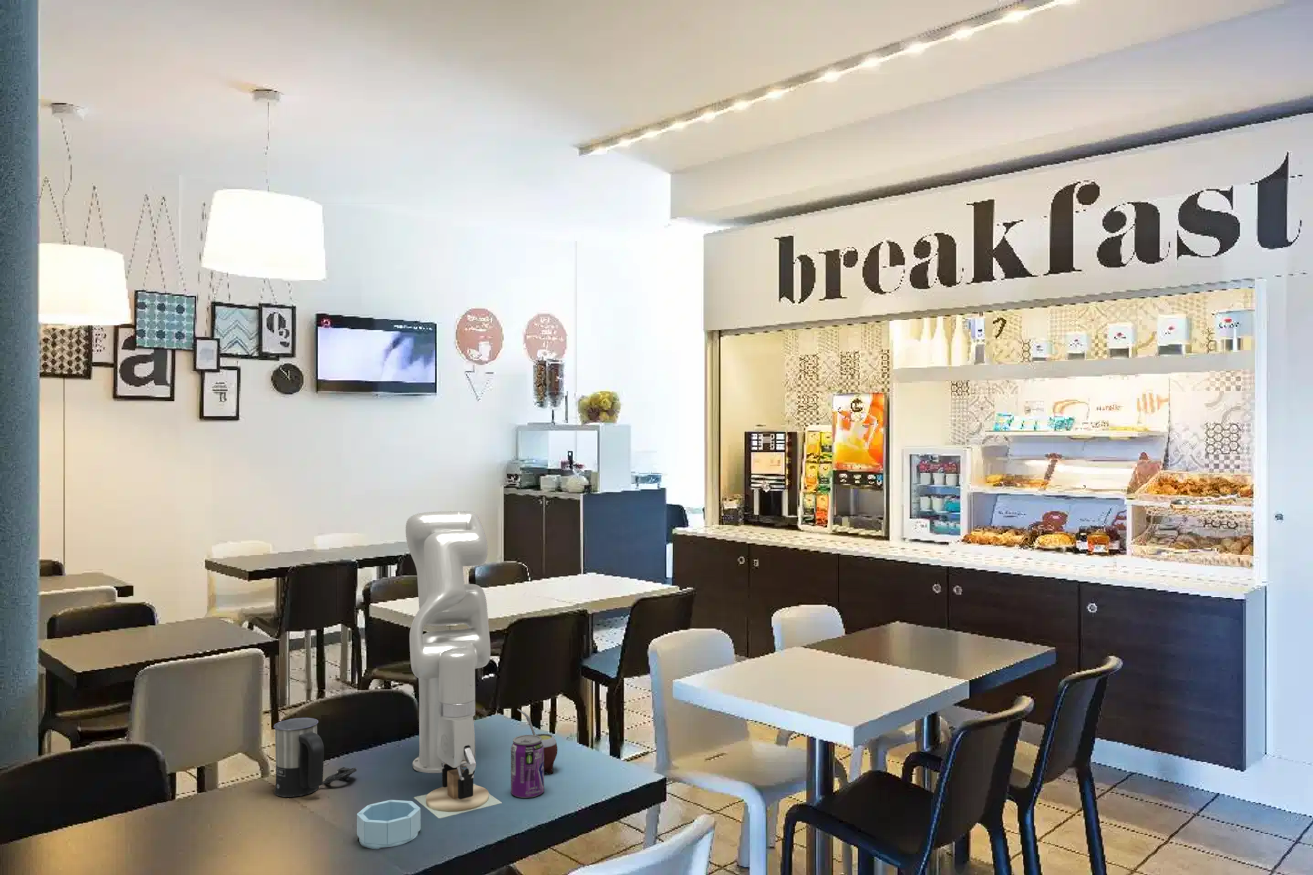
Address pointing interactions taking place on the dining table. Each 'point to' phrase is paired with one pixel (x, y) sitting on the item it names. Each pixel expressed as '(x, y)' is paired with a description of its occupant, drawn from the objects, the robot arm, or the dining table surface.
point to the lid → (455, 796)
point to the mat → (441, 814)
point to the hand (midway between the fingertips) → (457, 790)
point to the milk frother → (301, 758)
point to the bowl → (388, 823)
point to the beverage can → (527, 766)
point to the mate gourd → (546, 747)
